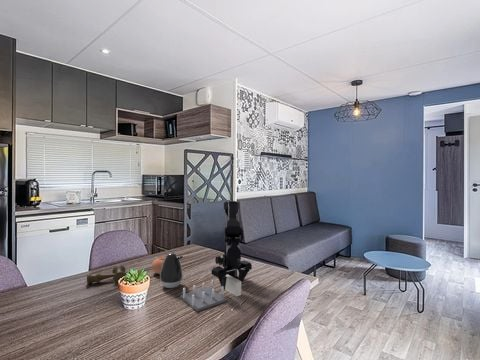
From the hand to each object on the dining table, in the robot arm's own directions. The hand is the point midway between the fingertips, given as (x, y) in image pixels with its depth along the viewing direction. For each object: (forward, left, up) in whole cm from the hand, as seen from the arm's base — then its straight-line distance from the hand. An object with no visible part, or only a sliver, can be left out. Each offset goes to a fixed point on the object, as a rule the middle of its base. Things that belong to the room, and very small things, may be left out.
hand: (231, 287), depth 118 cm
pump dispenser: (+19, -21, -2) cm, 28 cm away
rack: (+14, -1, -2) cm, 14 cm away
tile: (0, 0, -2) cm, 2 cm away
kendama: (+40, -43, -2) cm, 59 cm away
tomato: (+16, -39, -2) cm, 42 cm away
